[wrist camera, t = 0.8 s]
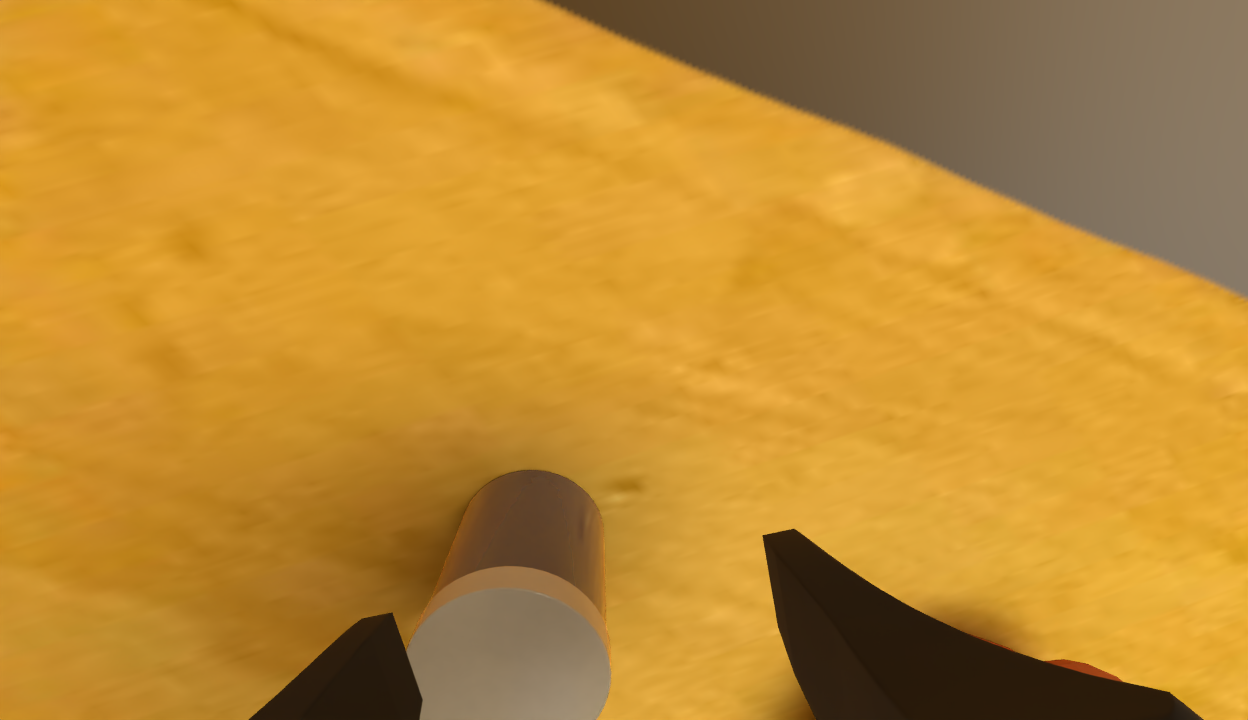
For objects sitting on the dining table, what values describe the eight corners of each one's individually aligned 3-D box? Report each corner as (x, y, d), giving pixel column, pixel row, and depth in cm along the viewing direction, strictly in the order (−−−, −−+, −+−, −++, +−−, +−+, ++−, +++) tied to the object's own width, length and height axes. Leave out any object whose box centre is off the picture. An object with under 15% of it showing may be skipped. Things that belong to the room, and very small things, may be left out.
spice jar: (588, 610, 24) (584, 777, 18) (446, 583, 24) (386, 744, 17) (622, 483, 23) (633, 610, 16) (473, 452, 22) (421, 569, 16)
